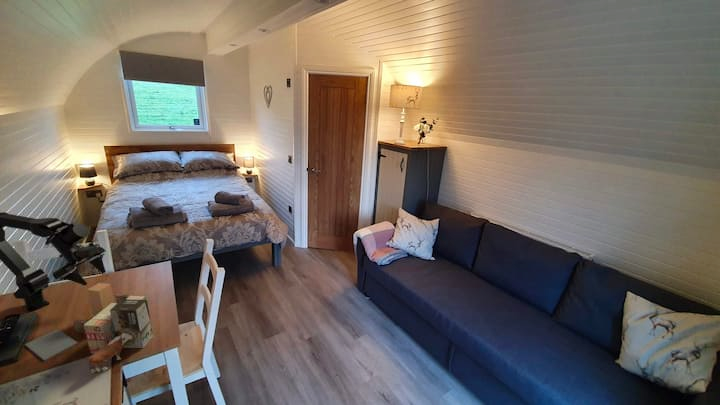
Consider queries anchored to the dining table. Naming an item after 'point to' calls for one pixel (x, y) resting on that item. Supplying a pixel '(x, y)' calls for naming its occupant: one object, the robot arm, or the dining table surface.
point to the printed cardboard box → (102, 328)
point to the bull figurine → (108, 352)
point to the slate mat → (51, 344)
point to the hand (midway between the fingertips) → (95, 278)
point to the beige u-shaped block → (80, 323)
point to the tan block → (100, 297)
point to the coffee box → (132, 322)
